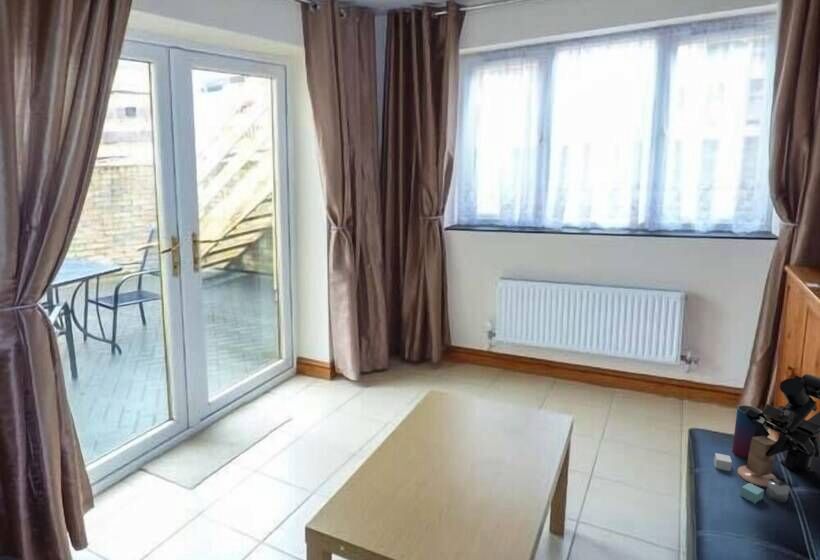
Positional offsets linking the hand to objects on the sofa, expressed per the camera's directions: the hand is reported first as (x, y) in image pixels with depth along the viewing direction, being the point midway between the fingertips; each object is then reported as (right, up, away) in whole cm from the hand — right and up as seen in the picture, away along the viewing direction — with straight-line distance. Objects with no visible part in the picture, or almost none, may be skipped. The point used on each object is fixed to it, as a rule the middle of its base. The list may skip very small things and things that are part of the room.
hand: (758, 451), depth 163 cm
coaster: (+1, -8, +2) cm, 9 cm away
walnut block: (+1, -6, +2) cm, 7 cm away
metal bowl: (+1, -11, -7) cm, 12 cm away
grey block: (-7, -7, +8) cm, 12 cm away
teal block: (-7, -11, -7) cm, 15 cm away
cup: (+4, -5, +15) cm, 17 cm away
